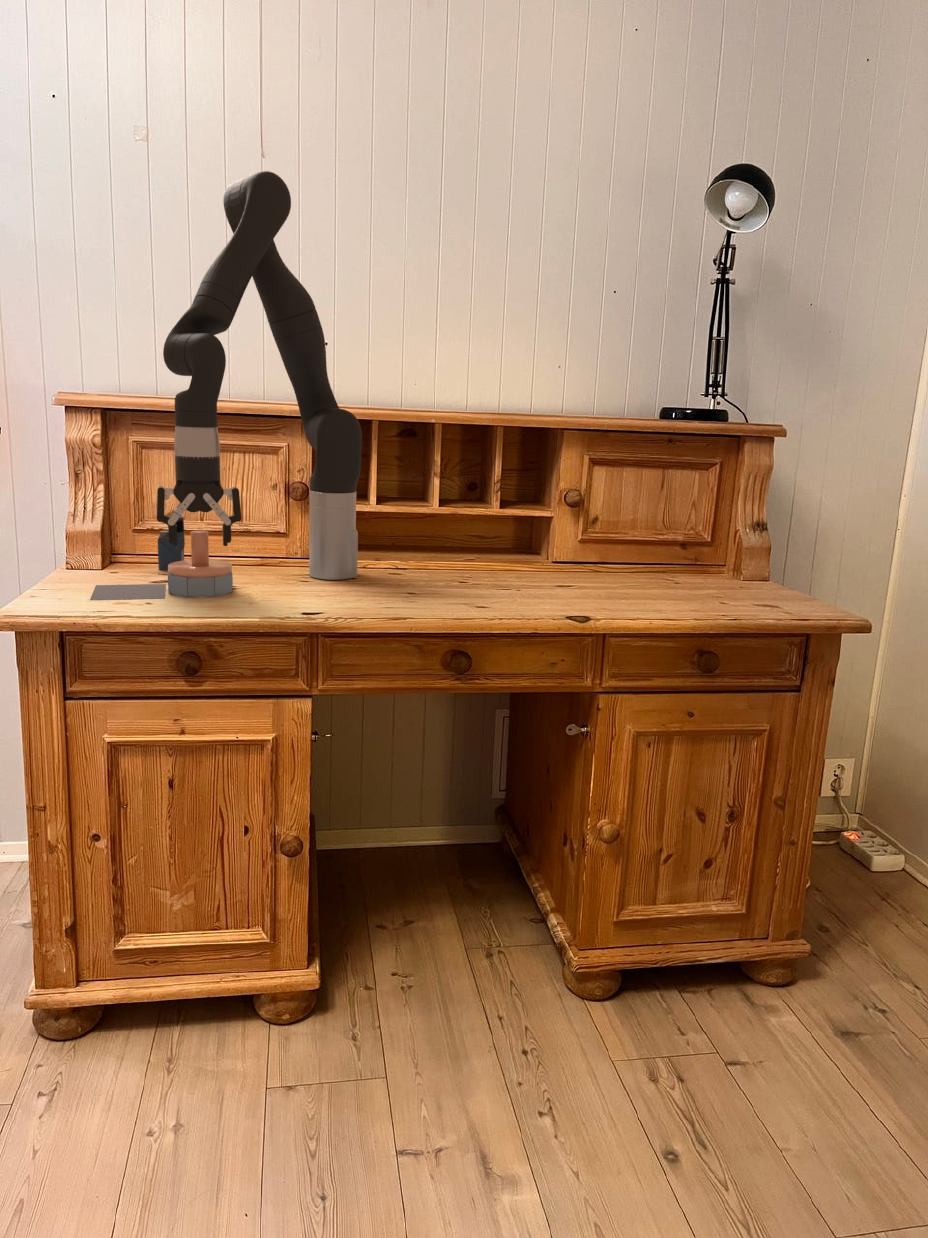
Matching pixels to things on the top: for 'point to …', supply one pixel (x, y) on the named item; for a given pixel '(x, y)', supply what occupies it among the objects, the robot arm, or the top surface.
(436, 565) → the top surface
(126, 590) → the mat
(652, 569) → the top surface
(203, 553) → the lid
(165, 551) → the vaping device
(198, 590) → the bowl
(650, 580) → the top surface
